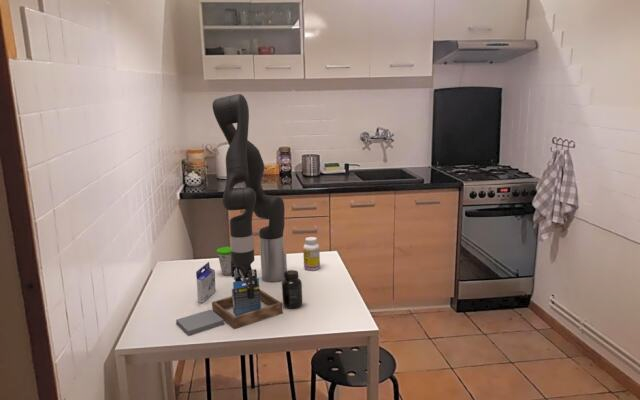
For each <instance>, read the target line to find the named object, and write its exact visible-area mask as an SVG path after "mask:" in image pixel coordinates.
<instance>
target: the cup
mask: <svg viewBox="0 0 640 400" xmlns="http://www.w3.org/2000/svg"><path fill="white" fill-rule="evenodd" d="M216 255H217V257H218V261H219V266H220V270H221V275H222V276H225V277H226V276H227V277H228V276H231V246H221V247H219V248H217V249H216Z"/></svg>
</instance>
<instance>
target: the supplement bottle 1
mask: <svg viewBox="0 0 640 400" xmlns="http://www.w3.org/2000/svg"><path fill="white" fill-rule="evenodd" d="M281 281H282V282H281V290H282V291H281V295H282V307H284V308H285V309H290V310H292V309H297V308H300V307H302V306H303V283H302V280H301V279H300V278H299V271H298V270H295V269H290V270H287V271H286V272H284V279H283V280H281Z"/></svg>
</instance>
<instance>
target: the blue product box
mask: <svg viewBox="0 0 640 400" xmlns="http://www.w3.org/2000/svg"><path fill="white" fill-rule="evenodd" d="M248 283H249V282H248ZM254 283H255V282H254ZM257 283H258V287H255V288H254V298H252V299H248V298H247V286H246V283H244V282H243V280H242V281H236V282H235V281H233V282H232V289H231V296H232V299H233V307H232V309H233V315H234V316H238V315H242V314H245V313H248V312H251V311H254V310H257V309H261V308H262V305H261V304H262V302H261V299H260V290H261V286H260V285H261V284H260V278H259V277H257Z"/></svg>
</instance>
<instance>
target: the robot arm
mask: <svg viewBox="0 0 640 400" xmlns="http://www.w3.org/2000/svg"><path fill="white" fill-rule="evenodd" d="M249 109H250V108H249V105H248V101H247V99H246V97H245V96H244V95H243V94H240V93H238V94H233V95H227V96H224V97H223V96H222V97H219V98H216V99H214V100H213V101H212V111H213V112H212V113H213V115H214V118H215V119H216V122H217V124H218V126H219V128H220V130H221V132H222V134H223V136H224V138H225V139H226V141H227V143H228V148H227V152H226V155H225V171H226V182H225V186H224V190H223V196H222V205H223V207H224V208H225V210H227V211H241V210H242V211H243V210H244V212H243V213H242V214H239V215H235V216H233V217H232V218H230V220H229V231H230V232H229V233H230V241H229V242H230V246H229V247H231V275H230V276H231V278H233V280H234V282H236V281H243V282H244V283H245V285H246V286H247V298H248V299H252V298H254V288H255V287H258V283H257V278H258V271H257V269H256V268H255V269H253V268H252V264H253V263H254V262H255V246H254V236H253V215H255V216H256V217H257V218H259V219H263V220H268V225H267V226H264V227H262V228H260V229H259V232H258V234H259V250H260V253H259V255H260V268H261V269H260V270H261V271H260V272H261V279H262V281H264V282H269V283H270V282H271V283H274V282H280V281H283V280H284V279H285V278H284V272H286V271H288V264H287V262H288V261H287V253H285V243H284V230H285V203H284V199H283V198H282V197H280V196H277V195H269V194H266V193H265V191H264V189H263V186H262V180H263V177H264V172H265V163H264V160H263V157H262V155H261V153H260V150H259V148H258V147H257V146H255V144H253V143H252V142H251V141H249V140H248V138H249V137H248V136H249V123H250V119H249V118H250V113H249V111H250V110H249ZM234 124H236V127H235V126H234ZM241 183H244V186H245V187H237V188H236V187H235V186H236V185H238V184H241ZM234 187H235V188H234ZM248 282H249V283H248ZM254 282H255V283H254Z"/></svg>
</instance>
